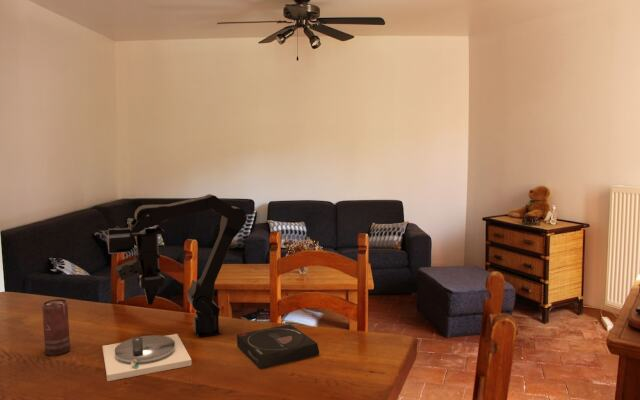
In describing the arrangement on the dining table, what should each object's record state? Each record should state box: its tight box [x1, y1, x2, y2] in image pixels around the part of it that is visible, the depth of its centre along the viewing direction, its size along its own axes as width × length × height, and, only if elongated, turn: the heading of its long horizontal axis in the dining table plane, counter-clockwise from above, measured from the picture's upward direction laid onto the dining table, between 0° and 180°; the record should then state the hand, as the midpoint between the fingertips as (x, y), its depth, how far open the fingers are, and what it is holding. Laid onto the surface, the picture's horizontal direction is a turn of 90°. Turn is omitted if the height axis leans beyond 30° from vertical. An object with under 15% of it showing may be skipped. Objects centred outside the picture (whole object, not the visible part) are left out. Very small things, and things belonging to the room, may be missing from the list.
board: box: [102, 333, 193, 382], centre depth 136 cm, size 20×20×2 cm
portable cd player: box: [236, 324, 320, 370], centre depth 141 cm, size 16×17×4 cm
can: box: [41, 298, 71, 357], centre depth 140 cm, size 6×6×14 cm
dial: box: [115, 334, 175, 365], centre depth 135 cm, size 17×15×6 cm
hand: (150, 304), depth 146 cm, fingers closed
